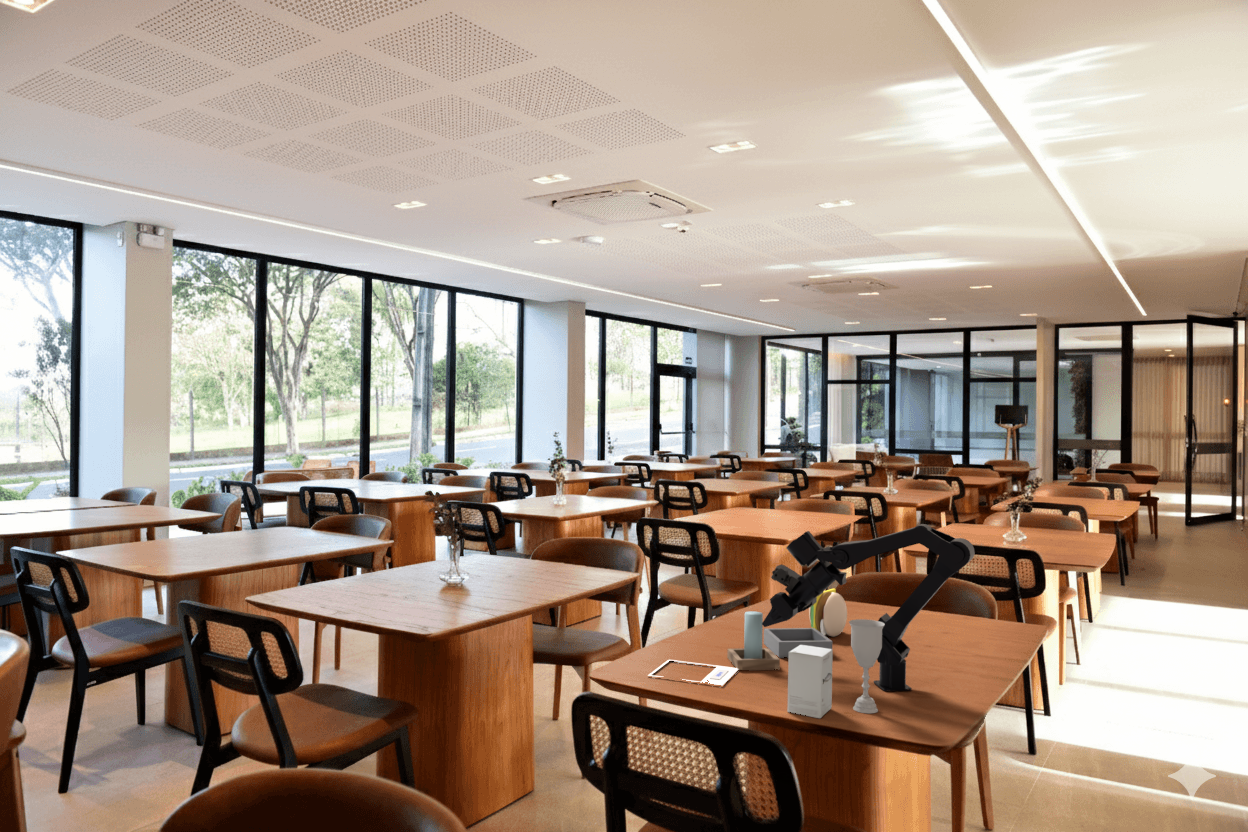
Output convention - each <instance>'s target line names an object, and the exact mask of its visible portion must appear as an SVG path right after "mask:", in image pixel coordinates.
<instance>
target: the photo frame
mask: <svg viewBox="0 0 1248 832" xmlns="http://www.w3.org/2000/svg"><path fill="white" fill-rule="evenodd" d="M669 661H674V662H678V663H677V664H679V663H687V664H695V665H707V666H713V667H716V668H713V670H712V671H710V673H708V674H707V675H706V676H705V677H704V678H703V679H702V680H693V679H692V680H691V679H684V678H683V679H682V678H681V679H682V680H686V681H691V682H700V683H702V682H703V683H705V682H708V681H709V682H708V684H709V683H710V684H714V685H721V686H723V685H724V684H725V683H726V682H727V681H728V680H729V679H730V678H731V677H732V676H733V675H734V674H735V673H736V672H737V671H738V670H739V669H737V668H735V667H734V666H733V667H732V666H727V665H726V666H724V665H716V664H707V663H699V662H691V661H685V660H684V661H683V660H676V659H667V660H666V661H665V662H663V663H661V664H660V666H658V667H657V668H655V669H654V670H653V671H651V672H650V673H649V674H647V676H652V677H663V676H662V675H654V673H656V672H657V671H659V670H660V669H661V668H662V667H664V666H665V665H666V664H668V663H669ZM674 662H673V663H674ZM738 672H739V671H738ZM738 672H737V673H738ZM737 673H736V674H737ZM736 674H735V675H736ZM707 680H708V681H707Z"/></svg>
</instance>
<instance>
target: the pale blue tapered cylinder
mask: <svg viewBox="0 0 1248 832" xmlns="http://www.w3.org/2000/svg"><path fill="white" fill-rule="evenodd" d="M763 616H764V615H763V612H761V611H754V610H753V611H751V610H750V611H749V610H748V611H745V612H744V625H743V626H744V627H743V629H744V631H743V632H744V633H743V634H744V635H743V636H744V638H743V640H744V641H743V642H744V643H743V648H744V659H758V658H762V648H763V632H764V626H763V625H762V623H763V621H764V620H763V619H764V617H763Z"/></svg>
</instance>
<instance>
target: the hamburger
mask: <svg viewBox="0 0 1248 832" xmlns="http://www.w3.org/2000/svg"><path fill="white" fill-rule="evenodd" d="M836 590H837V589H836V588H830V589H826V590H824V591H823V593H822V594H821V595H819V596H817V601H816V603H815V604H814V605H813V606H811V607H810V608H808V617H809V623H810V628H815V629H816V630H818V631H819V632H821V633H822V634H823V635H825V636H829V637H832V638H835V637H837V636H839V635H840V634H841V632H842V633H843V631H844V629H845V627H846V624H847V619H848V607H847V604H846V601H845V599H844V598H843V596H842V594H839V593H838V592H837V591H836Z"/></svg>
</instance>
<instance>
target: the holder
mask: <svg viewBox="0 0 1248 832" xmlns="http://www.w3.org/2000/svg"><path fill="white" fill-rule="evenodd" d="M726 650H727V654H726V655H727V658H728V659H729V660H730V661H731V662H732V664H733V665H734V666H735V667H736V668H737V669H739V670H749V671H780V670H781V667H780V665H781V660H780V659H781V658H778V657H777V656H776V655H775V654H774V653H773V652H772V651H771V650H770V649H769V648H768V647H762V658H758V659H744V647H743V648H742V647H741V648H740V647H739V648H727V649H726ZM728 659H727V660H728ZM729 660H728V661H729ZM730 661H729V662H730ZM731 662H730V663H731ZM732 664H731V665H732ZM733 665H732V666H733ZM734 666H733V667H734ZM735 667H734V668H735ZM774 669H775V670H774ZM776 669H778V670H776Z"/></svg>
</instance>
